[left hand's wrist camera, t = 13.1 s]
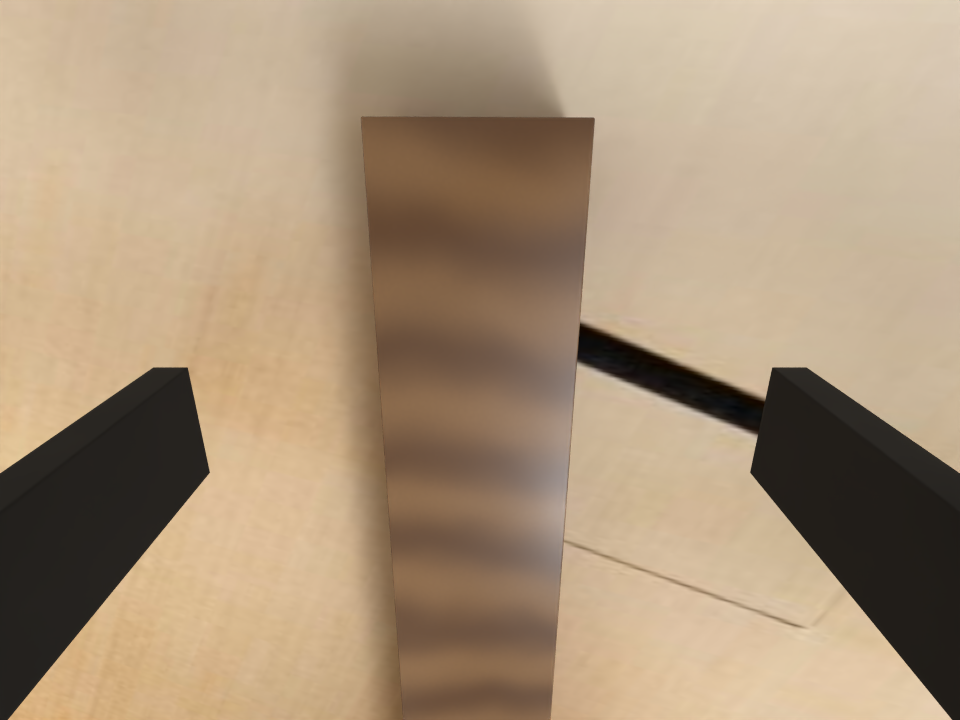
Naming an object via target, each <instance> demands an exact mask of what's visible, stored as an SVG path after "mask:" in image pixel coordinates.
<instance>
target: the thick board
mask: <svg viewBox="0 0 960 720" xmlns="http://www.w3.org/2000/svg"><path fill="white" fill-rule="evenodd" d="M594 122H595V119H594V118H565V117H361V126H362V141H363V155H364V169H365V183H366V197H367V212H368V226H369V240H370V254H371V268H372V283H373V297H374V311H375V325H376V339H377V354H378V368H379V382H380V396H381V410H382V425H383V439H384V453H385V467H386V481H387V496H388V510H389V524H390V538H391V553H392V567H393V581H394V595H395V609H396V624H397V638H398V652H399V666H400V680H401V695H402V709H403V720H550V718H551V705H552V691H553V678H554V664H555V651H556V637H557V624H558V610H559V596H560V583H561V569H562V556H563V542H564V529H565V515H566V502H567V488H568V475H569V461H570V447H571V434H572V420H573V407H574V393H575V380H576V366H577V353H578V339H579V326H580V312H581V299H582V285H583V271H584V258H585V244H586V231H587V217H588V204H589V190H590V177H591V163H592V150H593V136H594Z"/></svg>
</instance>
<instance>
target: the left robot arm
mask: <svg viewBox="0 0 960 720" xmlns="http://www.w3.org/2000/svg"><path fill="white" fill-rule="evenodd" d="M209 473H210V471H209V467H208V462H207V457H206V452H205V448H204V443H203V438H202V433H201V429H200V424H199V419H198V414H197V410H196V405H195V400H194V396H193V391H192V386H191V381H190V377H189V372H188V368H152V369H151V370H149V371H148V372H146V373H145V374H143V375H142V376H141V377H139V378H138V379H136V380H135V381H133V382H132V383H130V384H129V385H128V386H126V387H125V388H123V389H122V390H120V391H119V392H117V393H116V394H115V395H113V396H112V397H110V398H109V399H107V400H106V401H104V402H103V403H101V404H100V405H99V406H97V407H96V408H94V409H93V410H91V411H90V412H88V413H87V414H86V415H84V416H83V417H81V418H80V419H78V420H77V421H75V422H74V423H73V424H71V425H70V426H68V427H67V428H65V429H64V430H62V431H61V432H60V433H58V434H57V435H55V436H54V437H52V438H51V439H49V440H48V441H46V442H45V443H44V444H42V445H41V446H39V447H38V448H36V449H35V450H33V451H32V452H31V453H29V454H28V455H26V456H25V457H23V458H22V459H20V460H19V461H18V462H16V463H15V464H13V465H12V466H10V467H9V468H7V469H6V470H4V471H3V472H2V473H0V720H8V719H9V718H10V716H11V715H12V714H13V713H14V711H15V710H16V709H17V708H18V707H19V705H20V704H21V703H22V702H23V700H24V699H25V698H26V697H27V696H28V694H29V693H30V692H31V691H32V689H33V688H34V687H35V686H36V685H37V683H38V682H39V681H40V680H41V678H42V677H43V676H44V675H45V674H46V672H47V671H48V670H49V669H50V667H51V666H52V665H53V664H54V663H55V661H56V660H57V659H58V658H59V656H60V655H61V654H62V653H63V651H64V650H65V649H66V648H67V647H68V645H69V644H70V643H71V642H72V640H73V639H74V638H75V637H76V636H77V634H78V633H79V632H80V631H81V629H82V628H83V627H84V626H85V625H86V623H87V622H88V621H89V620H90V618H91V617H92V616H93V615H94V614H95V612H96V611H97V610H98V609H99V607H100V606H101V605H102V604H103V603H104V601H105V600H106V599H107V598H108V596H109V595H110V594H111V593H112V592H113V590H114V589H115V588H116V587H117V585H118V584H119V583H120V582H121V581H122V579H123V578H124V577H125V576H126V574H127V573H128V572H129V571H130V570H131V568H132V567H133V566H134V565H135V563H136V562H137V561H138V560H139V559H140V557H141V556H142V555H143V554H144V552H145V551H146V550H147V549H148V548H149V546H150V545H151V544H152V543H153V541H154V540H155V539H156V538H157V537H158V535H159V534H160V533H161V532H162V530H163V529H164V528H165V527H166V525H167V524H168V523H169V522H170V521H171V519H172V518H173V517H174V516H175V514H176V513H177V512H178V511H179V510H180V508H181V507H182V506H183V505H184V503H185V502H186V501H187V500H188V499H189V497H190V496H191V495H192V494H193V492H194V491H195V490H196V489H197V488H198V486H199V485H200V484H201V483H202V481H203V480H204V479H205V478H206V477H207V475H208V474H209ZM750 473H751V474H752V475H753V477H754V478H755V479H756V480H757V481H758V483H759V484H760V485H761V486H762V488H763V489H764V490H765V491H766V492H767V494H768V495H769V496H770V497H771V499H772V500H773V501H774V502H775V503H776V505H777V506H778V507H779V508H780V510H781V511H782V512H783V513H784V514H785V516H786V517H787V518H788V519H789V521H790V522H791V523H792V524H793V525H794V527H795V528H796V529H797V530H798V532H799V533H800V534H801V535H802V537H803V538H804V539H805V540H806V541H807V543H808V544H809V545H810V546H811V548H812V549H813V550H814V551H815V552H816V554H817V555H818V556H819V557H820V559H821V560H822V561H823V562H824V563H825V565H826V566H827V567H828V568H829V570H830V571H831V572H832V573H833V574H834V576H835V577H836V578H837V579H838V581H839V582H840V583H841V584H842V585H843V587H844V588H845V589H846V590H847V592H848V593H849V594H850V595H851V596H852V598H853V599H854V600H855V601H856V603H857V604H858V605H859V606H860V607H861V609H862V610H863V611H864V612H865V614H866V615H867V616H868V617H869V618H870V620H871V621H872V622H873V623H874V625H875V626H876V627H877V628H878V629H879V631H880V632H881V633H882V634H883V636H884V637H885V638H886V639H887V640H888V642H889V643H890V644H891V645H892V647H893V648H894V649H895V650H896V651H897V653H898V654H899V655H900V656H901V658H902V659H903V660H904V661H905V663H906V664H907V665H908V666H909V667H910V669H911V670H912V671H913V672H914V674H915V675H916V676H917V677H918V678H919V680H920V681H921V682H922V683H923V685H924V686H925V687H926V688H927V689H928V691H929V692H930V693H931V694H932V696H933V697H934V698H935V699H936V700H937V702H938V703H939V704H940V705H941V707H942V708H943V709H944V710H945V711H946V713H947V714H948V715H949V716H950V718H951V719H952V720H960V473H958V472H957V471H956V470H954V469H953V468H951V467H950V466H948V465H947V464H945V463H944V462H942V461H941V460H940V459H938V458H937V457H935V456H934V455H932V454H931V453H929V452H928V451H927V450H925V449H924V448H922V447H921V446H919V445H918V444H916V443H915V442H914V441H912V440H911V439H909V438H908V437H906V436H905V435H903V434H902V433H901V432H899V431H898V430H896V429H895V428H893V427H892V426H890V425H889V424H887V423H886V422H885V421H883V420H882V419H880V418H879V417H877V416H876V415H874V414H873V413H872V412H870V411H869V410H867V409H866V408H864V407H863V406H861V405H860V404H859V403H857V402H856V401H854V400H853V399H851V398H850V397H848V396H847V395H845V394H844V393H843V392H841V391H840V390H838V389H837V388H835V387H834V386H832V385H831V384H830V383H828V382H827V381H825V380H824V379H822V378H821V377H819V376H818V375H817V374H815V373H814V372H812V371H811V370H809V369H808V368H772V372H771V377H770V381H769V386H768V391H767V396H766V400H765V405H764V410H763V414H762V419H761V424H760V429H759V433H758V438H757V443H756V448H755V452H754V457H753V462H752V467H751V471H750Z"/></svg>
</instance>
